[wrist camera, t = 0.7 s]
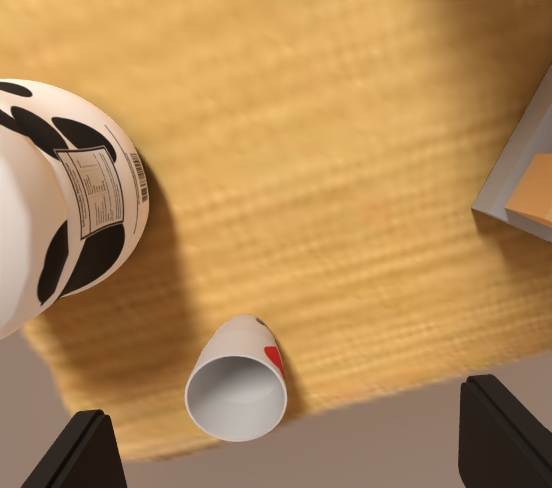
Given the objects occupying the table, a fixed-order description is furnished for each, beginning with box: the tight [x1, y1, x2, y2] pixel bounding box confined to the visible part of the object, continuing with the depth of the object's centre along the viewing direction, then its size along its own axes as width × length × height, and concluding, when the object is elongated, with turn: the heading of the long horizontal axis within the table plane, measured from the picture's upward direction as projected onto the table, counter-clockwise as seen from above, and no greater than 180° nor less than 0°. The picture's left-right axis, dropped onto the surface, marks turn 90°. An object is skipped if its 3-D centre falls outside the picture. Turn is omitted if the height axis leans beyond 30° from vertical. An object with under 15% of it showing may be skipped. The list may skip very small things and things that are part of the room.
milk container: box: [0, 79, 150, 340], centre depth 26 cm, size 17×17×18 cm
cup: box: [185, 314, 287, 441], centre depth 34 cm, size 8×8×10 cm
